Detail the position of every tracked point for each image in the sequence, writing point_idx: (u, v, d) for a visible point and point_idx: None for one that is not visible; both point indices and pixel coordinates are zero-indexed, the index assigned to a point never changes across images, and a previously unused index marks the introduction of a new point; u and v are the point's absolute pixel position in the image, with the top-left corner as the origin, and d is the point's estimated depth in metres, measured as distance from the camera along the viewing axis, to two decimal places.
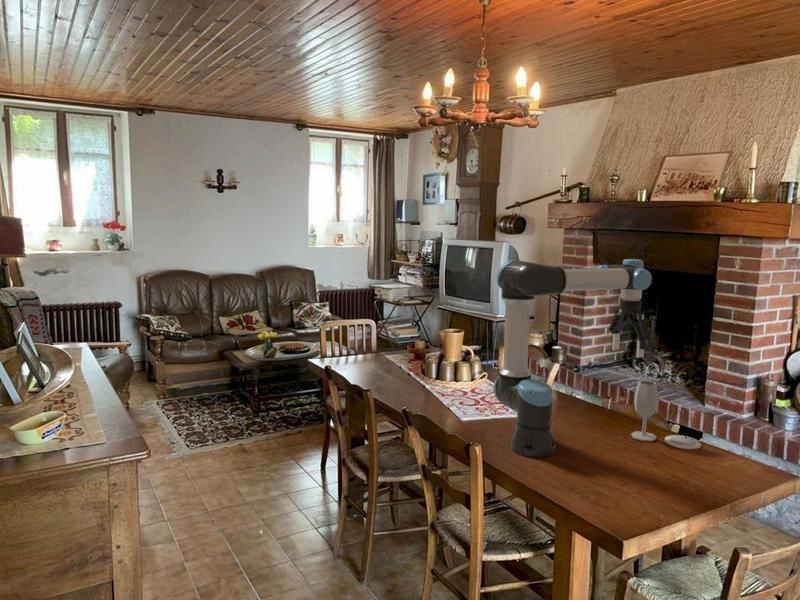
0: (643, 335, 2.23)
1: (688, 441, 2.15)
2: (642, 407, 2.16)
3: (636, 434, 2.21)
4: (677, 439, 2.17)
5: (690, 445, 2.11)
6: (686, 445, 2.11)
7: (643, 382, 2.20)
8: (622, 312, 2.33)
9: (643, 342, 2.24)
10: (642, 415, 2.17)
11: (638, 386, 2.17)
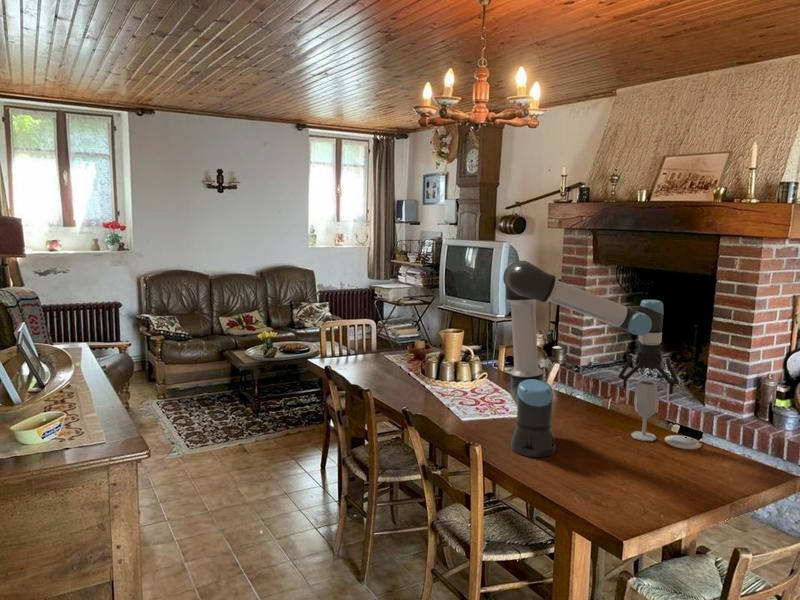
0: (675, 379, 2.12)
1: (688, 441, 2.15)
2: (642, 407, 2.16)
3: (636, 434, 2.21)
4: (677, 439, 2.17)
5: (690, 445, 2.11)
6: (686, 445, 2.11)
7: (643, 382, 2.20)
8: (640, 357, 2.16)
9: None
10: (642, 415, 2.17)
11: (638, 386, 2.17)
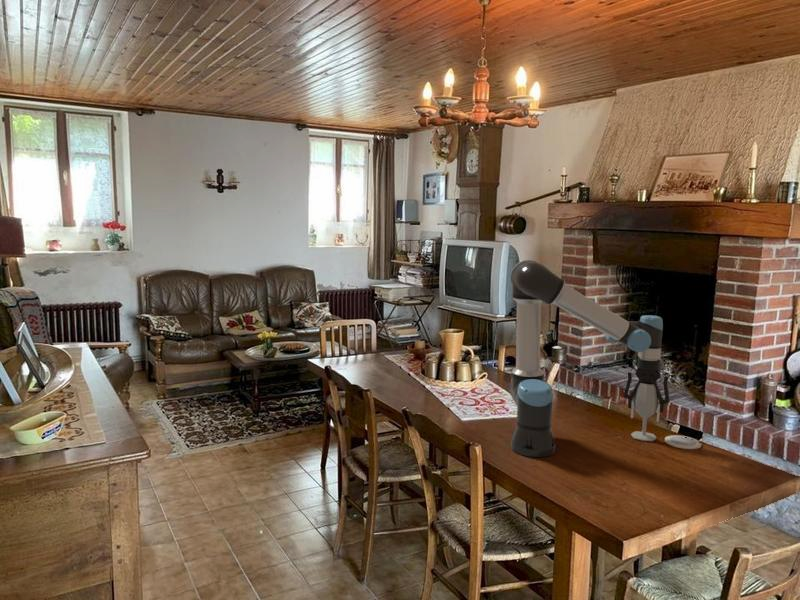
0: (667, 398, 2.14)
1: (688, 441, 2.15)
2: (642, 407, 2.16)
3: (636, 434, 2.21)
4: (677, 439, 2.17)
5: (690, 445, 2.11)
6: (686, 445, 2.11)
7: None
8: (638, 372, 2.17)
9: (663, 405, 2.16)
10: (642, 415, 2.17)
11: (638, 386, 2.17)
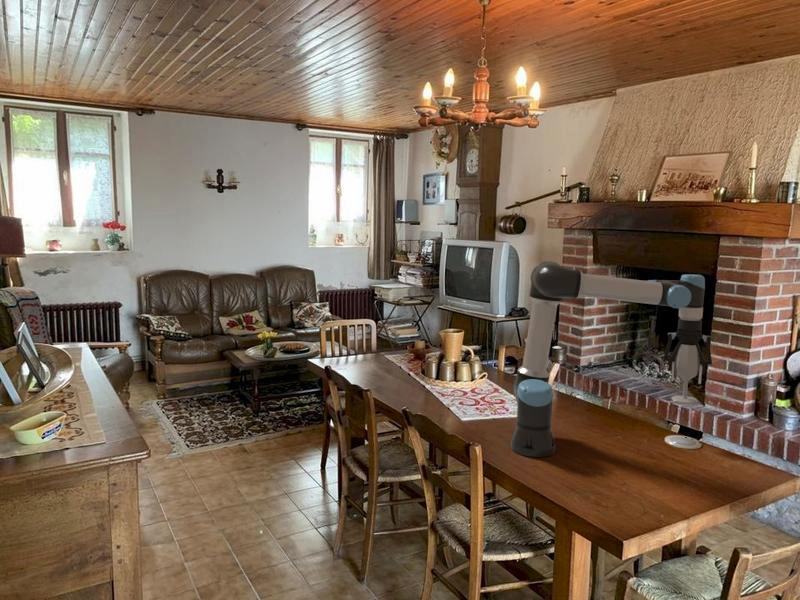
0: (709, 359, 2.07)
1: (688, 441, 2.15)
2: (684, 369, 2.09)
3: (677, 397, 2.14)
4: (677, 439, 2.17)
5: (690, 445, 2.11)
6: (686, 445, 2.11)
7: (683, 344, 2.13)
8: (679, 333, 2.11)
9: (705, 367, 2.09)
10: (683, 377, 2.11)
11: (679, 347, 2.11)
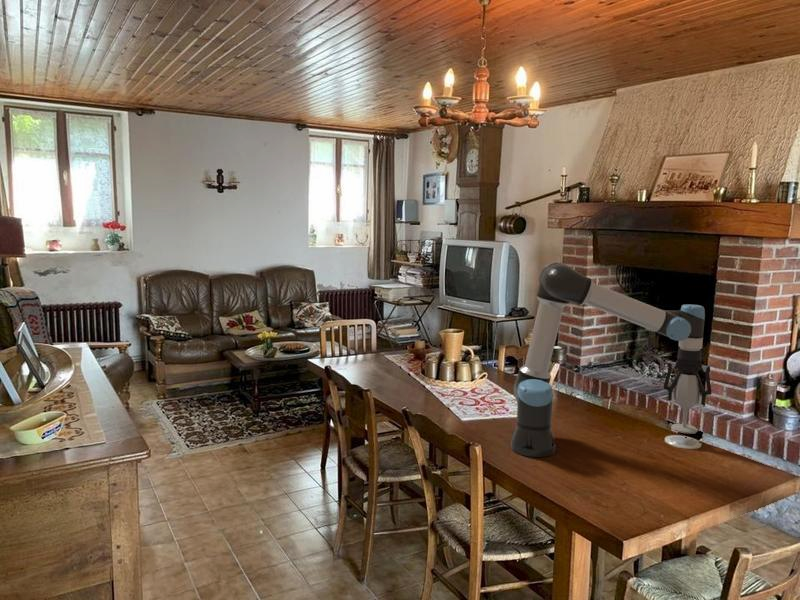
0: (709, 389, 2.09)
1: (688, 441, 2.15)
2: (683, 398, 2.10)
3: (676, 426, 2.15)
4: (677, 439, 2.17)
5: (690, 445, 2.11)
6: (686, 445, 2.11)
7: None
8: (679, 363, 2.12)
9: None
10: (683, 407, 2.12)
11: (679, 377, 2.12)
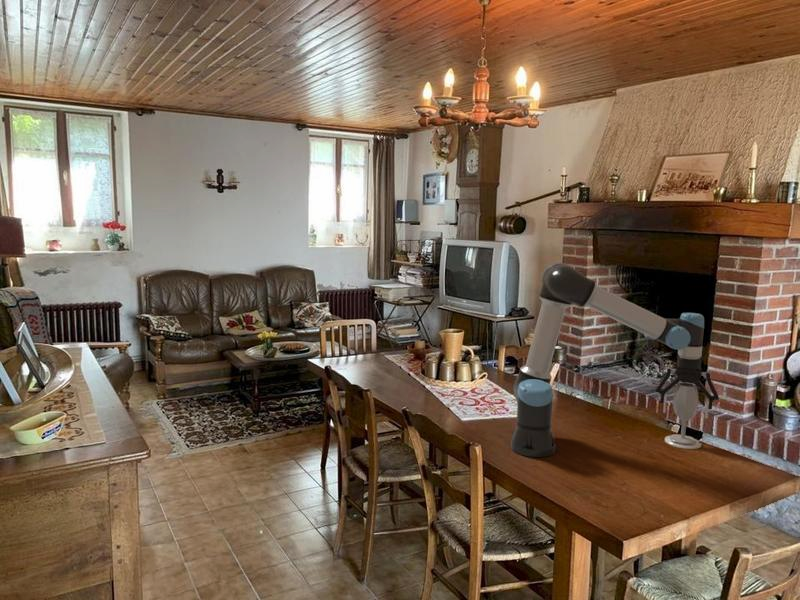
0: (715, 395, 2.08)
1: None
2: (682, 410, 2.11)
3: (675, 437, 2.16)
4: None
5: (690, 445, 2.11)
6: (686, 445, 2.11)
7: (682, 384, 2.15)
8: (679, 371, 2.12)
9: None
10: (682, 418, 2.13)
11: (678, 388, 2.13)
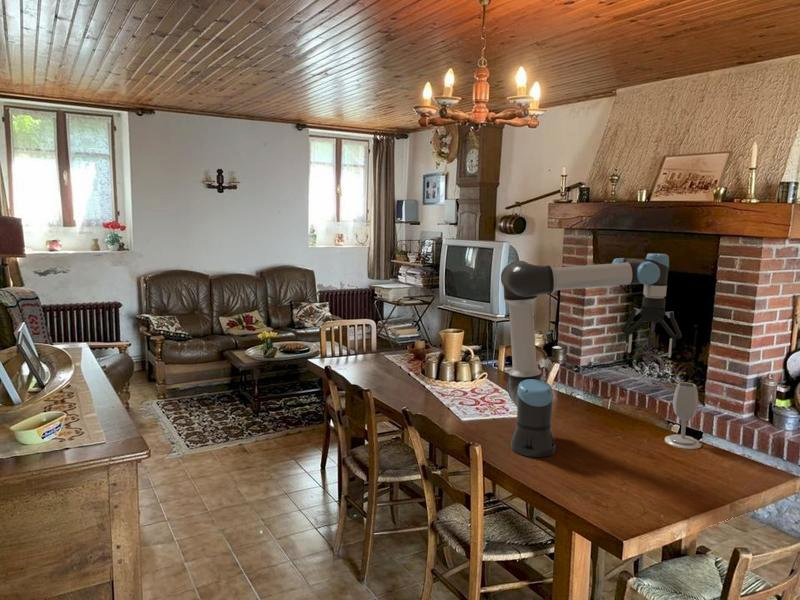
0: (678, 333, 2.11)
1: None
2: (682, 410, 2.11)
3: (675, 437, 2.16)
4: None
5: (690, 445, 2.11)
6: (686, 445, 2.11)
7: (682, 384, 2.15)
8: (643, 311, 2.16)
9: (675, 341, 2.13)
10: (681, 418, 2.13)
11: (677, 388, 2.13)
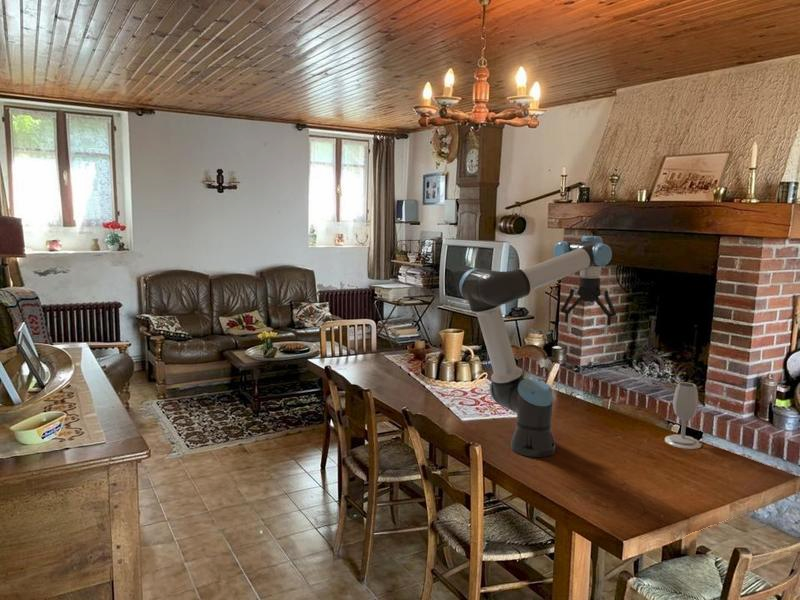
0: (613, 311, 2.22)
1: None
2: (682, 410, 2.11)
3: (675, 437, 2.16)
4: None
5: (690, 445, 2.11)
6: (686, 445, 2.11)
7: (682, 384, 2.15)
8: (580, 291, 2.27)
9: (610, 318, 2.24)
10: (681, 418, 2.13)
11: (677, 388, 2.13)
